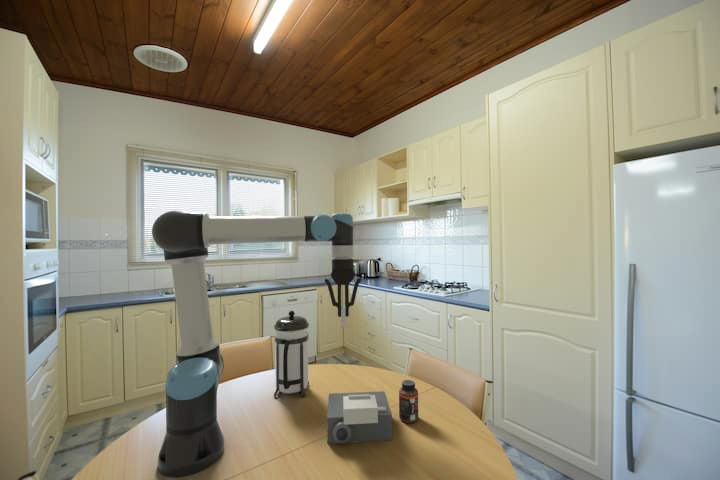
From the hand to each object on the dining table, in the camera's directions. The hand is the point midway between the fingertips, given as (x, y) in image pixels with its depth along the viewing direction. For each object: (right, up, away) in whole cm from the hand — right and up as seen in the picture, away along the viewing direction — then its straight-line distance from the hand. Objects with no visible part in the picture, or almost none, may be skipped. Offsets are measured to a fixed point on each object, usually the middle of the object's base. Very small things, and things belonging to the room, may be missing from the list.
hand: (343, 325), depth 108 cm
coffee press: (-19, -27, +7) cm, 34 cm away
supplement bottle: (+21, -26, -11) cm, 35 cm away
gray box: (+5, -26, -16) cm, 31 cm away
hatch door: (+6, -19, -23) cm, 30 cm away
